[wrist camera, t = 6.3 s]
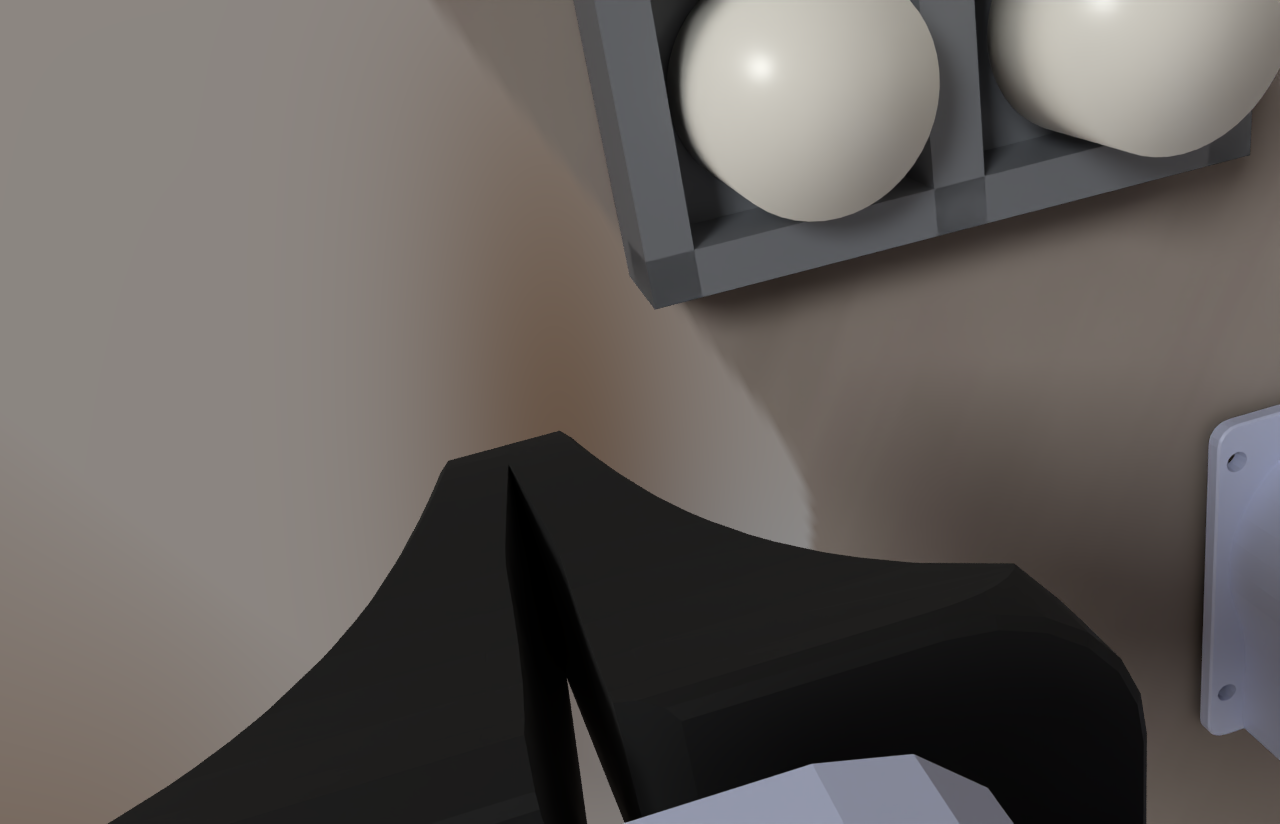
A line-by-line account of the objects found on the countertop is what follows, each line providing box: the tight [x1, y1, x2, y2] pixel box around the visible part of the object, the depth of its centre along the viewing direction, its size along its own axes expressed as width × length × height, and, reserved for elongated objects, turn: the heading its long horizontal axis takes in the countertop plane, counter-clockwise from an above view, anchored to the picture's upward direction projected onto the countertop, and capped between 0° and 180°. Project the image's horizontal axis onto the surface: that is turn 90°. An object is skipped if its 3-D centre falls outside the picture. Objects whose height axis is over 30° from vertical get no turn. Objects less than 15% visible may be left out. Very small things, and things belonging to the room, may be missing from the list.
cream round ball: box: [667, 0, 940, 222], centre depth 19 cm, size 4×4×3 cm
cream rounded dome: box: [987, 0, 1280, 157], centre depth 19 cm, size 4×4×3 cm
